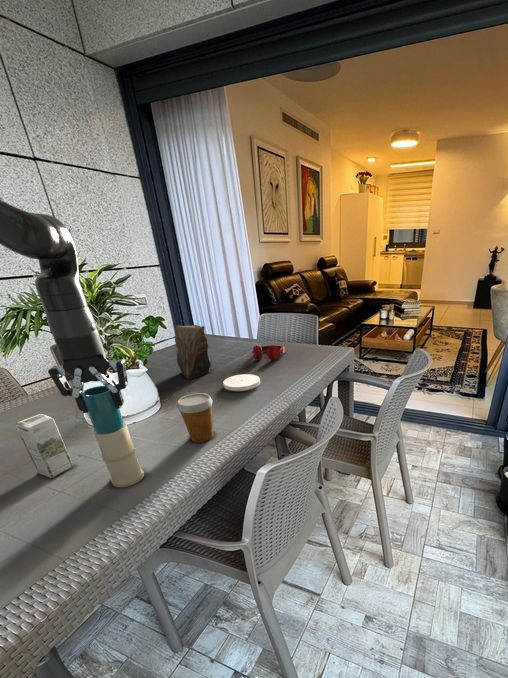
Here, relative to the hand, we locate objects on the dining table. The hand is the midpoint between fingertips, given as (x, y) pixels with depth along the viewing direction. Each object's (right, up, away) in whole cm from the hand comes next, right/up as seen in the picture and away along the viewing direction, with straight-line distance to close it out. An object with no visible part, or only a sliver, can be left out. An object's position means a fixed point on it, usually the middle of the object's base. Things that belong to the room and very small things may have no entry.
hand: (103, 409), depth 77 cm
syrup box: (-20, -15, +13) cm, 28 cm away
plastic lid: (+17, +12, +60) cm, 64 cm away
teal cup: (0, -4, +2) cm, 5 cm away
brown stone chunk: (-7, +19, +76) cm, 78 cm away
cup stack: (+1, -16, +9) cm, 19 cm away
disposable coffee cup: (+13, -7, +26) cm, 30 cm away
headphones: (+22, +31, +96) cm, 103 cm away
